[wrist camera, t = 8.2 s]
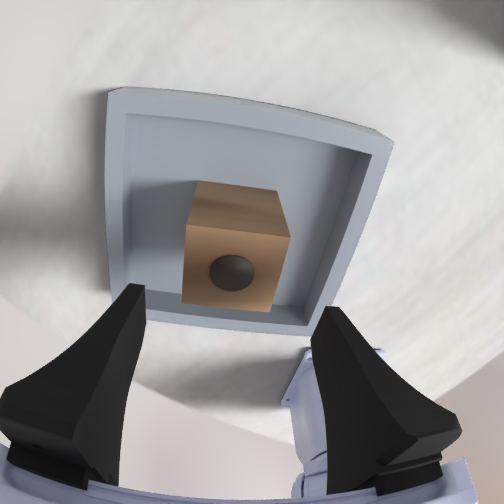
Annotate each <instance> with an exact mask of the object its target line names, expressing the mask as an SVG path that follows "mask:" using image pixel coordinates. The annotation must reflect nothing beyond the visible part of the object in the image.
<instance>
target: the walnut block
mask: <svg viewBox="0 0 504 504" xmlns="http://www.w3.org/2000/svg"><path fill="white" fill-rule="evenodd" d="M290 239H291V236H290V233H289V229H288V226H287V222H286V219H285V216H284V212H283V209H282V205H281V202H280V199H279V196H278V192H277V191H274V190H268V189H261V188H254V187H247V186H240V185H232V184H224V183H217V182H208V181H200V180H198V182H197V186H196V189H195V193H194V197H193V201H192V205H191V208H190V212H189V216H188V220H187V224H186V236H185V250H184V265H183V281H182V301H181V303H182V304H191V305H199V306H209V307H218V308H228V309H238V310H249V311H260V312H270V310H271V306H272V303H273V300H274V296H275V293H276V289H277V286H278V282H279V279H280V275H281V272H282V268H283V265H284V261H285V257H286V254H287V250H288V247H289V243H290Z"/></svg>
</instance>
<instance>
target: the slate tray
mask: <svg viewBox="0 0 504 504" xmlns="http://www.w3.org/2000/svg"><path fill="white" fill-rule="evenodd" d="M393 145H394V141H393V140H391V139H389V138H388V137H386V136H385V135H383V134H381V133H380V132H378V131H376V130H374V129H371V128H367V127H364V126H361V125H357V124H354V123H350V122H347V121H343V120H339V119H336V118H332V117H328V116H324V115H320V114H316V113H312V112H307V111H303V110H299V109H294V108H289V107H285V106H280V105H275V104H270V103H264V102H259V101H253V100H247V99H241V98H235V97H229V96H222V95H214V94H207V93H198V92H190V91H180V90H169V89H156V88H140V87H123V88H120V89H116V90H113V91H110V92H108V103H107V117H106V136H105V220H106V239H107V254H108V266H109V277H110V287H111V296H112V304H113V302H114V301H115V300H116V299H117V297H118V296H119V295H120V294H121V292H122V291H123V290H124V289H125V287H126V286H127V285H128V284H129V283H134V284H141V285H145V302H146V320H152V321H159V322H166V323H174V324H181V325H189V326H197V327H206V328H215V329H224V330H234V331H244V332H256V333H267V334H281V335H295V336H312V335H313V332H314V330H315V328H316V326H317V324H318V321H319V319H320V317H321V315H322V313H323V310H324V308H325V306H331V305H332V303H333V300H334V298H335V296H336V294H337V291H338V289H339V287H340V285H341V282H342V280H343V278H344V275H345V273H346V271H347V268H348V266H349V264H350V261H351V259H352V256H353V254H354V252H355V249H356V247H357V244H358V242H359V239H360V237H361V234H362V232H363V229H364V226H365V224H366V221H367V219H368V216H369V213H370V211H371V208H372V205H373V203H374V200H375V197H376V195H377V192H378V189H379V186H380V183H381V181H382V178H383V175H384V172H385V169H386V166H387V163H388V160H389V157H390V154H391V151H392V148H393ZM198 180H200V181H208V182H217V183H224V184H232V185H240V186H247V187H254V188H261V189H268V190H274V191H277V192H278V196H279V199H280V202H281V205H282V209H283V212H284V216H285V219H286V222H287V226H288V229H289V233H290V236H291V239H290V243H289V247H288V250H287V254H286V257H285V261H284V265H283V268H282V272H281V275H280V279H279V282H278V286H277V289H276V293H275V296H274V300H273V303H272V306H271V310H270V312H260V311H249V310H238V309H228V308H218V307H209V306H199V305H191V304H182V303H181V301H182V281H183V265H184V250H185V236H186V224H187V220H188V216H189V212H190V208H191V205H192V201H193V197H194V193H195V189H196V186H197V182H198Z"/></svg>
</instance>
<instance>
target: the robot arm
mask: <svg viewBox="0 0 504 504" xmlns="http://www.w3.org/2000/svg"><path fill="white" fill-rule="evenodd" d="M145 326H146V302H145V285H141V284H134V283H129V284H128V285H127V286H126V287H125V289H124V290H123V291H122V292H121V294H120V295H119V296H118V297H117V299H116V300H115V301H114V302H113V304H112V305H111V306H110V307H109V308H108V309H107V310H106V312H105V313H104V314H103V315H102V316H101V317H100V318H99V319H98V320H97V321H96V322H95V323H94V325H93V326H92V327H91V328H90V329H89V330H88V331H87V332H86V333H85V334H84V335H83V336H81V337H80V338H79V339H78V340H77V341H76V342H75V343H74V344H73V345H71V346H70V347H69V348H68V349H67V350H66V351H64V352H63V353H62V354H60V355H59V356H58V357H56V358H55V359H54V360H52V361H51V362H49V363H48V364H47V365H45V366H43V367H42V368H40V369H39V370H37V371H36V372H34V373H33V374H31V375H29V376H28V377H26V378H24V379H22V380H20V381H18V382H16V383H14V384H12V385H10V386H8V387H6V388H5V390H4V392H3V394H2V395H1V398H0V431H1V432H2V433H3V434H4V435H5V436H6V437H7V438H8V439H9V440H10V441H11V445H10V448H8V447H6V446H4V445H3V444H1V443H0V504H477V503H478V502H479V501H478V498H477V494H476V491H475V488H474V484H473V482H472V478H471V475H470V472H469V469H468V466H467V464H466V461H465V458H461V459H458V460H455V461H452V462H449V463H447V464H444V465H442V466H440V463H439V461H440V460H442V455H441V451H443V450H444V449H445V448H447V447H448V446H449V445H451V444H452V443H453V442H454V441H456V440H457V439H458V438H459V437H460V435H461V433H462V429H461V427H460V424H459V422H458V419H457V417H456V414H454V413H452V412H450V411H449V410H447V409H445V408H443V407H441V406H440V405H438V404H436V403H435V402H433V401H432V400H430V399H429V398H427V397H425V396H424V395H423V394H421V393H420V392H418V391H417V390H416V389H415V388H413V387H412V386H411V385H410V384H408V383H407V382H406V381H405V380H404V379H402V378H401V377H400V376H399V375H398V374H397V373H396V372H395V371H394V370H393V369H392V368H391V367H390V366H389V365H388V364H387V363H386V362H385V361H384V360H383V358H384V357H385V355H386V354H385V351H384V350H374V349H373V348H372V347H371V346H370V345H369V343H368V342H367V341H366V340H365V339H364V337H363V336H362V335H361V334H360V332H359V331H358V330H357V329H356V327H355V326H354V325H353V324H352V322H351V321H350V320H349V319H348V317H347V316H346V315H345V314H344V312H343V311H342V310H341V309H340V308H339V307H333V306H325V308H324V310H323V313H322V315H321V317H320V319H319V321H318V324H317V326H316V328H315V330H314V332H313V335H312V337H311V339H310V340H311V349H309V350H308V351H306V353H305V355H304V357H303V359H302V361H301V363H300V365H299V367H298V369H297V371H296V373H295V375H294V377H293V379H292V381H291V383H290V385H289V387H288V389H287V391H286V392H285V394H284V396H283V398H282V400H281V406H284V407H290V411H291V419H292V426H293V433H294V440H295V448H296V453H297V456H298V458H299V460H300V461H301V463H302V464H303V467H304V473H301V474H299V475H298V477H297V478H296V481H295V483H294V484H293V487H292V492H291V499H274V500H220V499H203V498H190V497H180V496H170V495H164V494H156V493H149V492H143V491H137V490H132V489H127V488H122V487H117V486H118V484H119V461H120V449H121V438H122V429H123V421H124V414H125V407H126V401H127V396H128V392H129V387H130V384H131V381H132V377H133V374H134V370H135V367H136V364H137V360H138V357H139V353H140V350H141V347H142V343H143V337H144V332H145Z"/></svg>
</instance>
